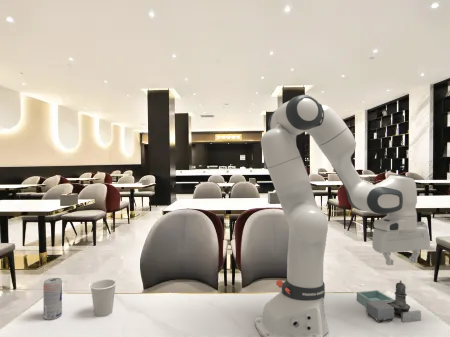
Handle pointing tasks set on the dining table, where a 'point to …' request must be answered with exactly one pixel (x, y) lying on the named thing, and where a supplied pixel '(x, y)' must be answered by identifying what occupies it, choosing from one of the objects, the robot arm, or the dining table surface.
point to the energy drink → (52, 298)
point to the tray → (372, 297)
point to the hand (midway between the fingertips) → (401, 263)
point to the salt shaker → (400, 300)
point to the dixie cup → (103, 296)
